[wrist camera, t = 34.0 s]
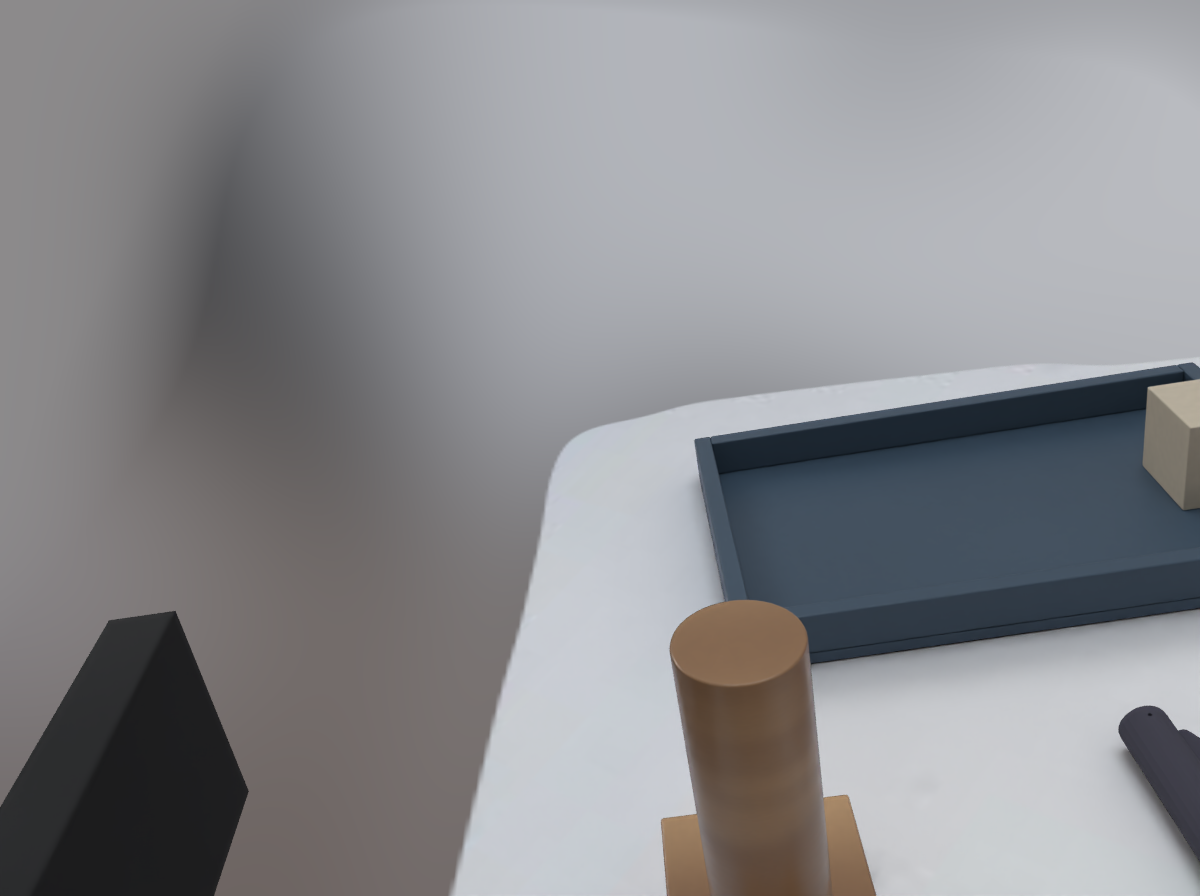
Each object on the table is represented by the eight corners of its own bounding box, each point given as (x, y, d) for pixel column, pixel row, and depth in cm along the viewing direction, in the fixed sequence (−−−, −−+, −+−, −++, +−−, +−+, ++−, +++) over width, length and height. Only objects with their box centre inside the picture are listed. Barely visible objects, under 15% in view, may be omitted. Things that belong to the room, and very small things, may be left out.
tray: (739, 674, 45) (733, 626, 44) (699, 478, 59) (694, 438, 57) (1386, 581, 43) (1396, 530, 42) (1189, 403, 57) (1193, 361, 56)
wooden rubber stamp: (931, 1187, 27) (912, 760, 21) (706, 1211, 28) (620, 798, 21) (856, 899, 35) (825, 521, 28) (679, 921, 35) (610, 552, 29)
